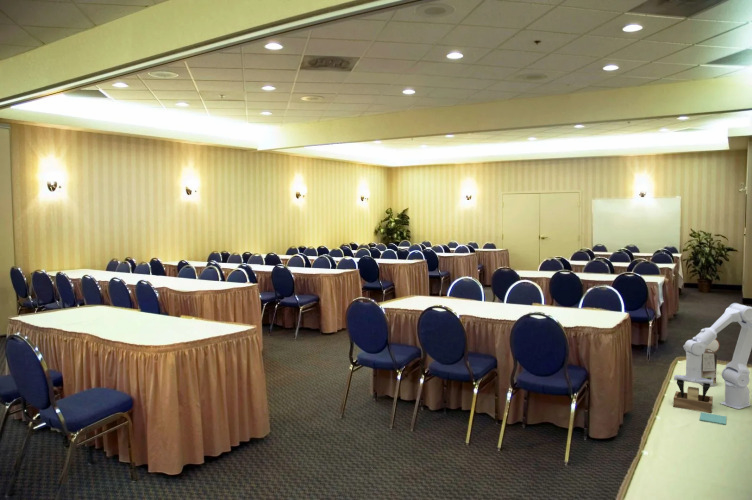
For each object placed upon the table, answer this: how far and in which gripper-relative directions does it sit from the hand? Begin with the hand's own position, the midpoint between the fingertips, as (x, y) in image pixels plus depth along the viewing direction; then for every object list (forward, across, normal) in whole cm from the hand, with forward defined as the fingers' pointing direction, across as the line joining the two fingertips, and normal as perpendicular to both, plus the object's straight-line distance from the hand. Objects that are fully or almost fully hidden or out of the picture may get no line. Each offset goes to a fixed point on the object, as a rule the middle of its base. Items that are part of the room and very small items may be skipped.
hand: (692, 398), depth 235 cm
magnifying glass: (+4, +3, +54) cm, 54 cm away
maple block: (+1, 0, 0) cm, 1 cm away
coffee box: (+4, +3, +38) cm, 38 cm away
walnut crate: (+3, 0, 0) cm, 3 cm away
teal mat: (+3, +8, -12) cm, 14 cm away
